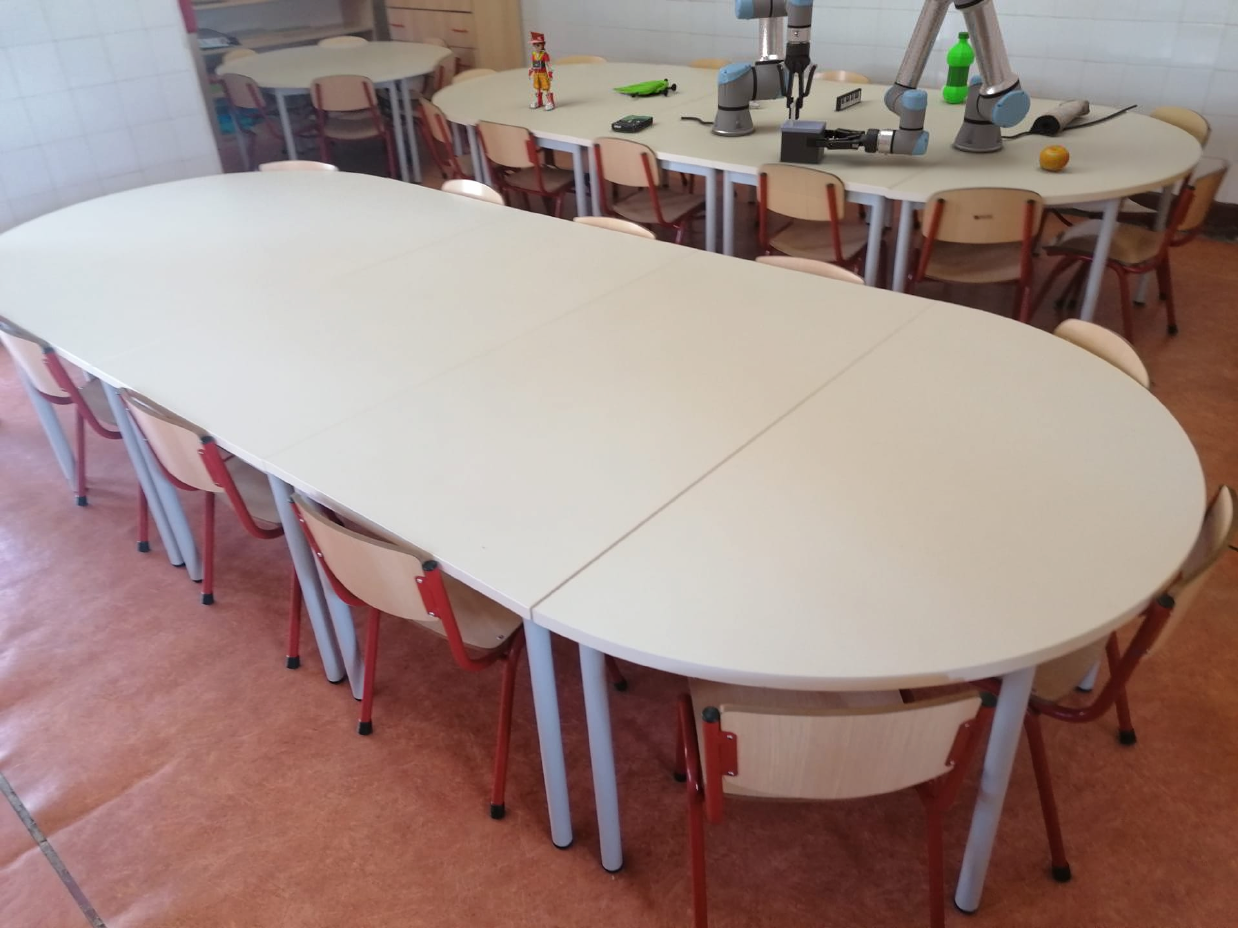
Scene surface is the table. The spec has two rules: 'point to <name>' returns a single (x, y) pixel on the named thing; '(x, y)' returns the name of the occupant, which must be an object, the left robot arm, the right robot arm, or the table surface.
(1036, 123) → the rolled mat
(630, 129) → the disk drive
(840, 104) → the midi keyboard
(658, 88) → the toy
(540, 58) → the toy
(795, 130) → the lid
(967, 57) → the plastic bottle
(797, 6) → the left robot arm
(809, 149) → the chest
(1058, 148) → the fruit
